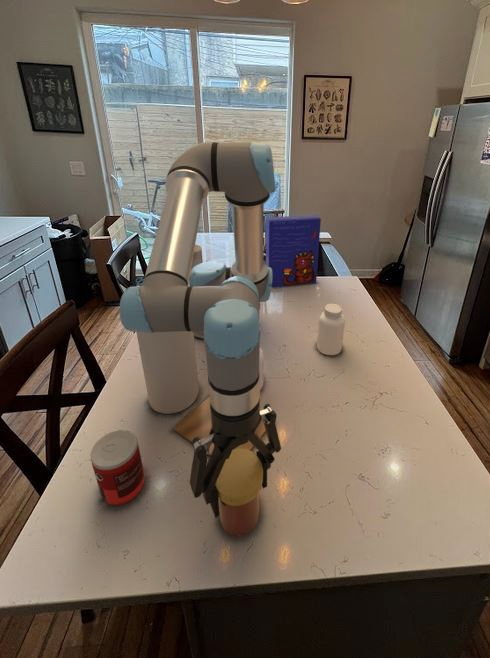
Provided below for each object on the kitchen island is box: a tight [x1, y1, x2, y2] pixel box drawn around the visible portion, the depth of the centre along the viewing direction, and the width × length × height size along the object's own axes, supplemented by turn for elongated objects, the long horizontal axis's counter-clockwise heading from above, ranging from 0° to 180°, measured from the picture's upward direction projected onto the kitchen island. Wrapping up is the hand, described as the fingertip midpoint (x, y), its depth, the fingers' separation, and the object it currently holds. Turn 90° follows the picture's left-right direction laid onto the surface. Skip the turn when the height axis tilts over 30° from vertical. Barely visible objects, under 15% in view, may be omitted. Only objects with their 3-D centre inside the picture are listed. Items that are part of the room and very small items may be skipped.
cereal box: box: [265, 214, 322, 288], centre depth 141 cm, size 22×6×30 cm, turn 104°
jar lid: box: [215, 449, 263, 506], centre depth 57 cm, size 9×9×2 cm
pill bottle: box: [316, 303, 346, 356], centre depth 102 cm, size 8×8×15 cm
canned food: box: [90, 429, 146, 506], centre depth 63 cm, size 8×8×11 cm
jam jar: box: [218, 492, 260, 537], centre depth 59 cm, size 7×7×11 cm
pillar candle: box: [189, 244, 204, 282], centre depth 148 cm, size 10×10×15 cm
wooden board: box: [173, 395, 266, 457], centre depth 77 cm, size 18×14×1 cm
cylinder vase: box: [136, 331, 200, 415], centre depth 81 cm, size 12×12×25 cm
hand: (239, 494), depth 58 cm, fingers closed on jar lid, 8 cm apart
